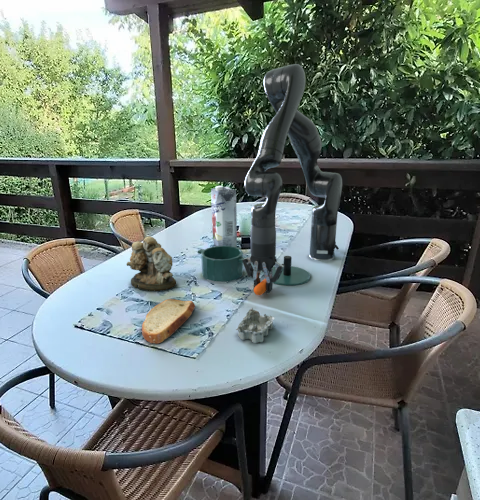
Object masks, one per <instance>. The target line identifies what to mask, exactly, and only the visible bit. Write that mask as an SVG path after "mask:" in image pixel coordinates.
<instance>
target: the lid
mask: <svg viewBox="0 0 480 500" xmlns="http://www.w3.org/2000/svg"><path fill="white" fill-rule="evenodd" d="M292 259H293V258H292V256H291V255H284V256H283V264H284V265H285V267H284V269H283V271H282V273H281V275H280V277H279V279H278V280H277V281H276V282H273V284H275V285H279V286H287V287H289V286H291V287H292V286H299V285H303V284H306V283H308V282H309V281H310V279H311V273H310V272H309V271H307V270H306V269H304V268H301V267H299V266H298V267H297V266H294V265H293V266H292ZM272 269H273V276H274V274H275V272H276V270H275V266H273V268H272ZM264 279H266V276H265V275H264Z"/></svg>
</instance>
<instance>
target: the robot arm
mask: <svg viewBox="0 0 480 500" xmlns="http://www.w3.org/2000/svg"><path fill="white" fill-rule="evenodd" d="M306 84H307V78H306V72H305V69H304V68H303V66H302V65H301V64H299V63H293V64H288V65H284V66H280V67H277V68H273V69H271V70H269V71H267V72H266V73H265V74H264V76H263V88H264V92H265V94H266V97H267V99H268V101H269V103H270V105H271V106H272V108H273V110H274V112H275V113H276V114H275V115H274V117H272V119H271V120H270V121H269V123H268V124H267V126H266V127H265V129H264V131H263V133H262V135H261V138H260V142H259V146H258V151H257V154H256V157H255V159H254V161H253V162H252V165H251V166H250V168H249V170H248V172H247V174H246V176H245V179H244V185H243V186H244V190H245V192H246V194H247V195H249V196H251V197H261V198H262V197H263V198H266V200H265V202H263V203H262V202H261V203H257V204H254V205H252V207H251V208H250V212H251V213H250V235H249V238H250V256H245V257H244V258H245V259H243V260H242V262H243V268H244V269H245V272H246V274H247V276H248V277H249V278H252V280H253V288H254V287H255V286H256V285H258V284H259V283H260V282H261V272H263V276H264V277H265V276H266V278H265V279H266V291H265V294H270V293H271V292H272V291H273V290H274V289H273V284H274V283H273V282H276V281H277V280H278V279H279V277H280V275H281V273H282V271H283V269H284V267H285V265H284V263H280V262H279V261H278V259H277V258H276V254H277V249H276V248H277V229H276V211H277V206H278V202H279V198H280V195H281V192H282V190H283V189H282V188H283V178H282V176H281V174H280V173H278V172H277V171H267V170H268V169H272V168H276V167H278V166H280V165H281V162H282V159H283V155H284V151H285V147H286V146H285V145H286V142H287V138H288V139H289V142H290V144H291V146H292V149H293V152H294V153H295V155H296V157H297V159H298V162H299V165H300V167H301V169H302V172H303V175H304V178H305V182H306V185H307V189H308V191H309V193H310V194H311V195H313V196H314V197H317V198H324V202H323V204H317V205H315V206H313V207H312V209H311V225H310V242H309V255H308V257H309V258H310V259H312V260H315V261H320V262H321V261H322V262H328V261H332V260H335V250H339V248H340V247H339V246H338V245H337V241H336V238H337V225H338V213H339V210H340V207H341V206H340V205H341V197H342V192H343V191H342V190H343V178H342V175H341V174H340V173H338V172H332V171H322V170H321V169H320V166H319V163H318V159H319V157H320V154H321V151H322V148H323V141H322V138H321V136H320V133H319V130H318V128H317V126H316V124H315V123H314V122H313V121H312V120H311V119H310V118H309V117H308V116H306V115H305V114H304V113H302V112H301V111H300V110H298V109H299V106H300V104H301V101H302V98H303V96H304V93H305V89H306ZM273 267H275V270H276V272H275V274H274V276H273V269H272V268H273Z"/></svg>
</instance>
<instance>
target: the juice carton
mask: <svg viewBox="0 0 480 500" xmlns="http://www.w3.org/2000/svg"><path fill="white" fill-rule="evenodd" d="M210 190H211V191H210V194H211V195H210V197H211V198H210V200H211V203H210V204H211V226H212V241H213V245H214V246H232V247H237V243H238V227H237V225H238V222H237V220H238V219H237V216H238V215H237V190H236V189H232V188H230V186H222V185H217V186H215V187H213V188H211V189H210Z"/></svg>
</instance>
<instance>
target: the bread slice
mask: <svg viewBox="0 0 480 500" xmlns="http://www.w3.org/2000/svg"><path fill="white" fill-rule="evenodd" d="M195 308H196V304H195V303H194V302H193V301H192V300H181V299H177V298H168V299H164V300H163V301H161V302H159V303H158V304H156V305H155V306H153V307H152V308H151V309H150V310H149V311H148V313H147V314H146V315H145V320H144V321H143V322H142V324H141V335H142V337H143V339H144V340H145V341H147V342H148V343H150V344H154V345H155V344H156V345H157V344H161V343H163V342H165V341H166V340H167V339H168V338H170V337H172V335H173V334H175V333H176V332H177V330H179V328H180V327H181V326H183V324H185V323H186V321H187V320H188V319H189V318H191V316H192V314H193V313H194V310H195Z"/></svg>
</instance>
